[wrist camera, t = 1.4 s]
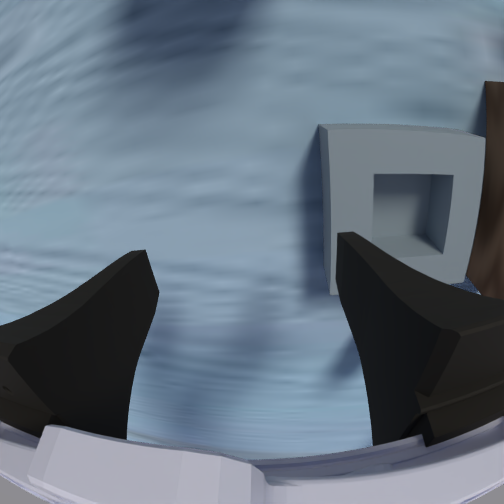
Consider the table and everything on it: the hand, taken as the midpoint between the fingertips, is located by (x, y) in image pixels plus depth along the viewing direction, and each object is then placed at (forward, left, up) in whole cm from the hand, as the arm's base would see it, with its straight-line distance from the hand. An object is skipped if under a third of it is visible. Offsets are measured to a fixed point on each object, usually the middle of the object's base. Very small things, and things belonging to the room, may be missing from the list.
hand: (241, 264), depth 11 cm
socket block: (-1, -9, -10) cm, 13 cm away
